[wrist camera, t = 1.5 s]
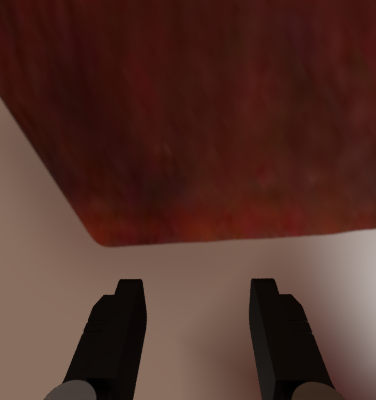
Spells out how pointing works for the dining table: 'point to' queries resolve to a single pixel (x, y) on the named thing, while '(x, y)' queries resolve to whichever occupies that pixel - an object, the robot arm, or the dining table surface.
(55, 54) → the dining table surface
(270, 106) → the dining table surface
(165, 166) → the dining table surface
